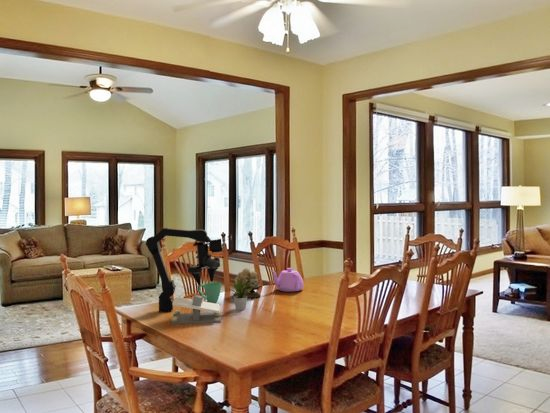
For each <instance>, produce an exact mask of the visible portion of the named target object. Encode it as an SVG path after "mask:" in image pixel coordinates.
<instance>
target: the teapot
mask: <svg viewBox="0 0 550 413" xmlns="http://www.w3.org/2000/svg"><path fill="white" fill-rule="evenodd" d="M271 273H272V274H273V283H274V285H275V287H276V288H277V289H278V291H282V292H286V293H290V292H293V293H294V292H299V291H302V290H303V288H304V280H303V278H302V275H301V274H300V272H299V271H297V270H293V267H287V268H286V270H284V269H283V270H281V272H280V274H279V275H278V274H277V272H276V271H274V270H271Z"/></svg>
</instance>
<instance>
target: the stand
mask: <svg viewBox="0 0 550 413" xmlns="http://www.w3.org/2000/svg"><path fill="white" fill-rule="evenodd" d="M170 320H171V321H170V325H189V324H190V325H193V324H214V323H215V324H217V323H220V324H221V323H222V313H221V311H220V310H219V313H216V312H210V311H206V312H201V310H198V309H192V312H186V313H185V312H183V313H181V310H180V309H175V310H173V315H172V316H171V318H170Z"/></svg>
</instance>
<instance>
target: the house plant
mask: <svg viewBox="0 0 550 413" xmlns="http://www.w3.org/2000/svg"><path fill="white" fill-rule="evenodd" d="M235 281H236V285H235V283H233V282H231V285H232V286H233V288H234V289H229V291H232V292H234V293H236V294H237V296H235V297H234V296H233V301H234V306H235V307H234V308H235V310H236V311H244V310H246V307H247V302H248V301H247V300H248V299H247V296H244V295H245V293H246V292H249V291H251V290H250V289H252V288H250V289H249V290H247V289H246V287H249V286H252V285H249V283H248V284H247V285H246V282H247V281H248V280H246V281H245V279H244V281H245V282H244V281H243V282H242V284H241V283H240V280H239V283H238V282H237V280H236V279H235V278H234V282H235ZM253 282H254V281H253ZM250 284H252V283H251V282H250ZM245 285H246V286H245ZM248 285H249V286H248ZM244 289H245V290H247V291H245V290H244ZM243 290H244V291H245V292H244V291H243ZM249 293H250V292H249ZM236 294H235V295H236Z"/></svg>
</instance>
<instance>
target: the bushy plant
mask: <svg viewBox="0 0 550 413" xmlns="http://www.w3.org/2000/svg"><path fill="white" fill-rule="evenodd" d="M257 273H258V272H256V271H250V268H248V267H245V268H244V269H242V271H239V272H238V274H237V275H236V276H235V278H234V284H235V285H236V281H235V279H236V280H237V282H238V283H239V280H240V283H241V284H242V282H243V281H244V279H245V281H246V280H248V281H247V282H246V285H247V284H248V283H249V285H252V286H249V285H248V286H249V287H246V289H247V290H249V289H250V288H252V289H250V290H251V291H249V292H250V293H249V292H246V293H245V295H244V296H247V300H252V299H253V300H254V299H258V298H259V297H261V294H260V293H259V292H257V290H260V288H261V287H262V284H259V282H260V281H259V279H258V274H257ZM245 281H244V282H245ZM253 281H254V282H253ZM250 282H251V283H252V284H250ZM246 285H245V286H246ZM244 290H245V289H244ZM244 290H243V291H244ZM247 290H245V291H247ZM245 291H244V292H245ZM235 294H236V293H235V292H234V293H233V298H234V297H235V296H237V294H236V295H235Z"/></svg>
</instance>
